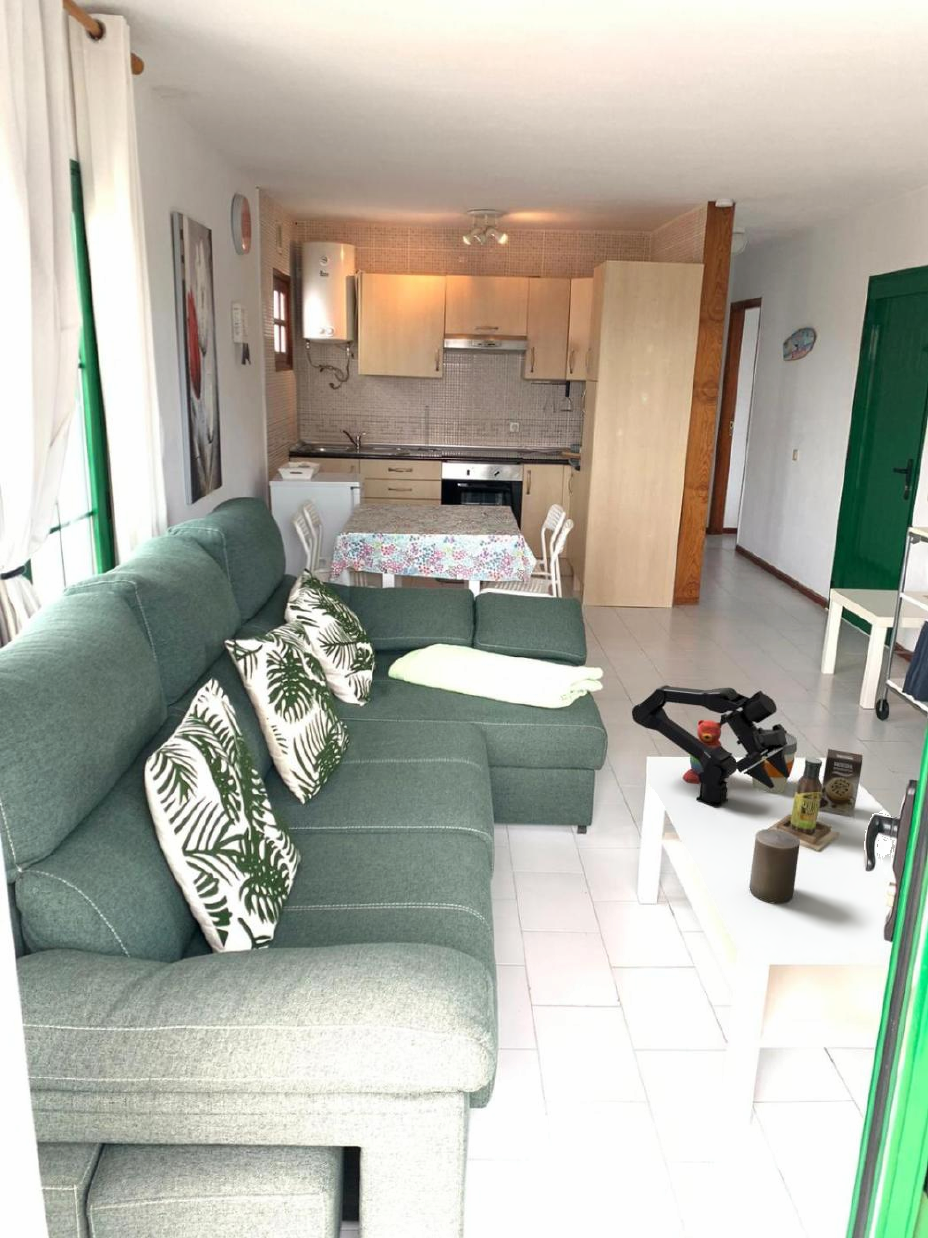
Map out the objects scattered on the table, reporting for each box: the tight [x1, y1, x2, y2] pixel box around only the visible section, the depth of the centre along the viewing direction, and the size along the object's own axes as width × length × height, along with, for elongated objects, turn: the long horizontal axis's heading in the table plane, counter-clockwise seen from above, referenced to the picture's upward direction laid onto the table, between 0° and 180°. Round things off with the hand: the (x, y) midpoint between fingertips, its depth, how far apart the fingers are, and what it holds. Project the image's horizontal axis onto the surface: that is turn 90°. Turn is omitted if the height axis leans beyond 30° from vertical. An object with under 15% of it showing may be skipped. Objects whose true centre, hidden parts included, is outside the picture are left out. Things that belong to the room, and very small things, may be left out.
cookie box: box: [818, 748, 863, 818], centre depth 260 cm, size 9×6×16 cm
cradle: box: [767, 813, 841, 852], centre depth 248 cm, size 14×13×2 cm
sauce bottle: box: [790, 756, 823, 835], centre depth 246 cm, size 6×6×20 cm
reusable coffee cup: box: [751, 728, 798, 794], centre depth 274 cm, size 13×12×15 cm
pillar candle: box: [748, 828, 801, 904], centre depth 218 cm, size 10×10×15 cm
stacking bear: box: [682, 719, 723, 785], centre depth 277 cm, size 11×10×18 cm
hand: (780, 782), depth 250 cm, fingers open, 9 cm apart
